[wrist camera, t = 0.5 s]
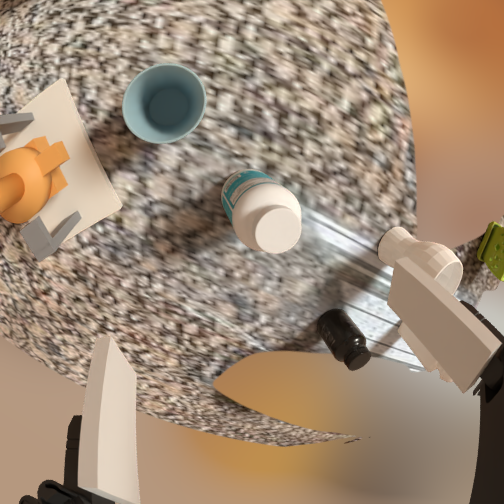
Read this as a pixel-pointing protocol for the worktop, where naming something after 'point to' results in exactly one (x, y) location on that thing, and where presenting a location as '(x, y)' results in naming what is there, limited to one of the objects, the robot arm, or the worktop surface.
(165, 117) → the cup
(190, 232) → the worktop surface
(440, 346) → the robot arm
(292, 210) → the pill bottle
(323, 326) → the supplement bottle
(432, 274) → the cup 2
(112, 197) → the base
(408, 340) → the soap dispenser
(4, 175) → the lever handle
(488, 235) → the flower pot
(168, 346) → the worktop surface
